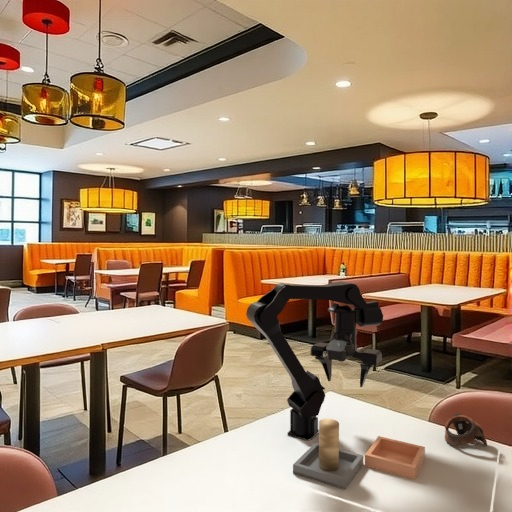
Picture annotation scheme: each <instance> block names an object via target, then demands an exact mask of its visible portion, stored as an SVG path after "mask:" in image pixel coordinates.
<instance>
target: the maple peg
mask: <svg viewBox="0 0 512 512" xmlns="http://www.w3.org/2000/svg"><path fill="white" fill-rule="evenodd" d="M318 430H319V432H318V444H319V468H320V469H322V470H324V471H329V472H332V471H336V470H338V468H339V449H340V422H339V421H337V420H336V419H333V418H323V419H320V420H318Z"/></svg>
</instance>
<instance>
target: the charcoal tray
mask: <svg viewBox="0 0 512 512" xmlns="http://www.w3.org/2000/svg"><path fill="white" fill-rule="evenodd" d="M363 465H364V455H363V454H360V453H355V452H352V451H350V450H349V451H348V450H344V449H341V448H339V468H338V470H336V471H332V472H329V471H324V470H322V469H320V468H319V442H318V443H317V442H314V443H313V444H312V445H311V446H310V447H309V448H308V449H307V450H306V451H305V452H304V453H303V454H302V455H301V456H300V457H299V458H298V459H297V460H296V461H295V462H294V463H293V464H292V474H293V475H297V476H300V477H304V478H305V479H309V480H313V481H316V482H319V483H322V484H325V485H329V486H331V487H336V488H338V489H341V490H346V489H347V488H348V486H349V485H350V484H351V482H353V481H352V480H353V479H354V478H355V476H356V475H357V474H358V473H359V471H360V470H361V468H362V467H363Z"/></svg>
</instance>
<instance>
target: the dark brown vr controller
mask: <svg viewBox="0 0 512 512" xmlns="http://www.w3.org/2000/svg"><path fill="white" fill-rule="evenodd" d="M452 424H453V427H454V428H455V432H456V433H452V432H451V431H450V430H449V428H450V426H451V425H452ZM444 428H445V433H444V441H445V442H446V444H448V445H449V444H451V445H454V446H462V445H463V446H466V445H470V444H473V445H477V443H476V440H477V441H480V442H482V443H483V446H485V447H487V446H488V443H487V442H488V441H487V438H486V437H485V435H484V429H483V427H482V426H481V425H480V424H479V423H478V422H477V421H474V420H473V418H472V417H470V416H467V415H463V414H461V413H460V412H456V413H454V414H453V415H452V417H451V418H449V419H447V421H446V422H445V424H444Z"/></svg>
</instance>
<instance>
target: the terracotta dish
mask: <svg viewBox="0 0 512 512" xmlns="http://www.w3.org/2000/svg"><path fill="white" fill-rule="evenodd" d="M425 458H426V446H423V445H420V444H419V445H418V444H414V443H410V442H405V441H401V440H397V439H393V438H388V437H384V436H381V435H378V436H377V438H376V439H375V441H374V442H373V443H372V444H371V446H370V447H369V448H368V450H367V451H366V453H365V454H364V466H365V467H369V468H372V469H375V470H378V471H383V472H387V473H389V474H390V473H391V474H394V475H398V476H401V477H405V478H408V479H411V480H416V477H417V476H418V473H419V471H420V469H421V468H422V465H423V462H424V461H425Z"/></svg>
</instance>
